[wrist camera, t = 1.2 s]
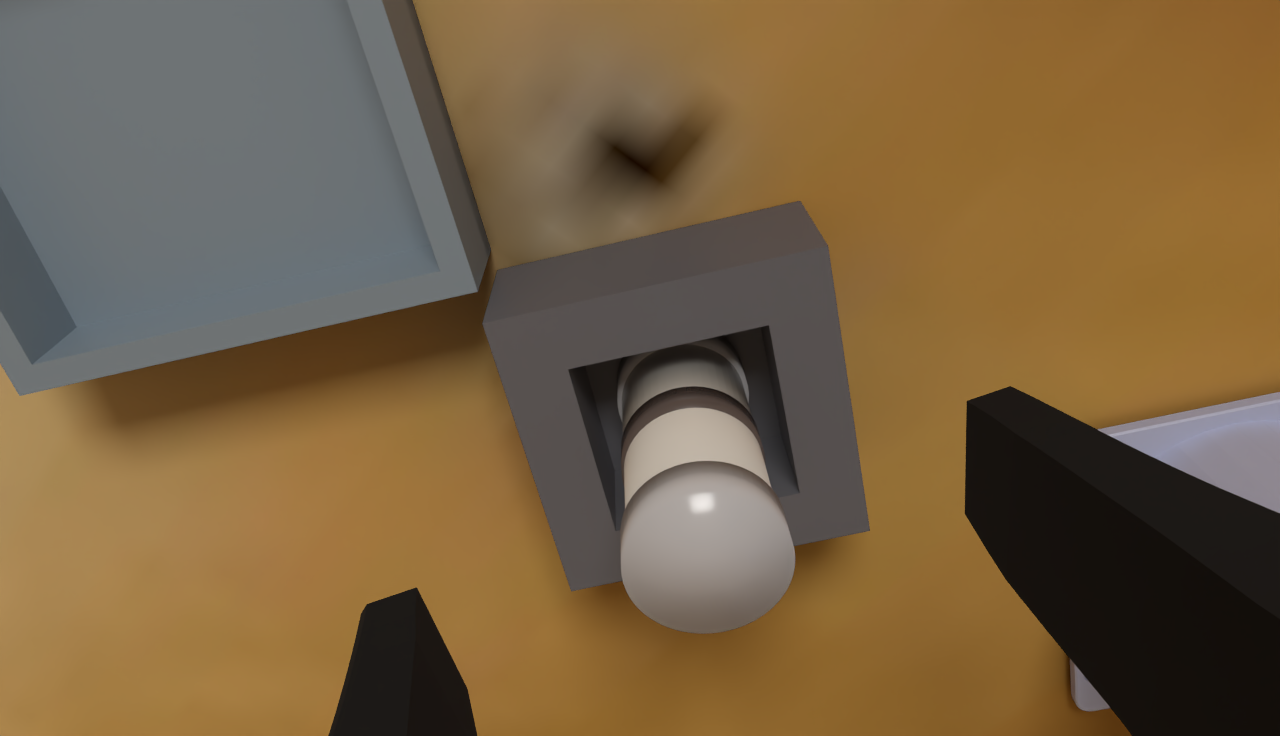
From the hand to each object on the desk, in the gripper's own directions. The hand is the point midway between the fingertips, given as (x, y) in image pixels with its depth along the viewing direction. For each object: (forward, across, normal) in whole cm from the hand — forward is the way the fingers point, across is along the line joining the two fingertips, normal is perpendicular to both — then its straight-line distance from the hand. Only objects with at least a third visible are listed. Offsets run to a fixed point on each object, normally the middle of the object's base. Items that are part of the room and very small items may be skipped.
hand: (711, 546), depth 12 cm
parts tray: (+13, +6, -4) cm, 15 cm away
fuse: (+10, -2, +5) cm, 11 cm away
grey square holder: (+10, -2, +5) cm, 11 cm away
